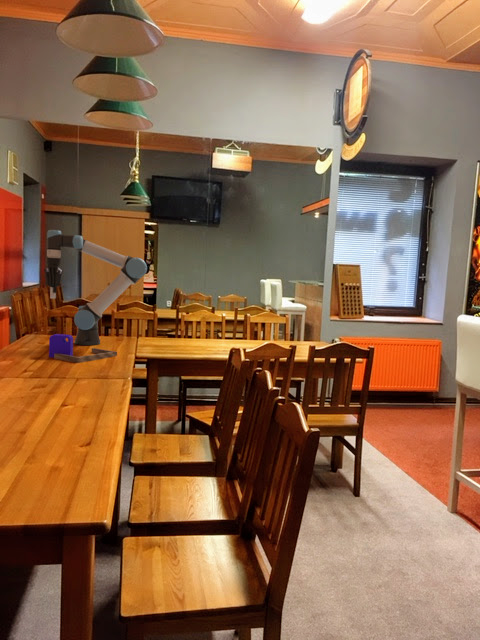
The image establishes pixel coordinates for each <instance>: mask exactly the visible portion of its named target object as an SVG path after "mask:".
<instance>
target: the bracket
mask: <svg viewBox="0 0 480 640" xmlns="http://www.w3.org/2000/svg"><path fill="white" fill-rule="evenodd" d="M48 343H49V344H48V345H49V347H48V348H49V350H48V357H49V358H54V354H56V353H59V354H65V355H70V356H74V338H73V335H72V334H66V333H64V334H62V333H56V334H53V335H50V337H49V342H48Z"/></svg>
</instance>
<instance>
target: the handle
mask: <svg viewBox="0 0 480 640" xmlns="http://www.w3.org/2000/svg"><path fill="white" fill-rule="evenodd" d="M91 353H93V354H89V355H83V356H82V355H81V356H75V355H73V356H70V355H65V354H59V353H56V354H54V357H53V358H54V359H55V360H61V361H66V362H71V363H76V364H79V363H85V362H86V363H87V362H92V361H96V360H104V359H108V358H112V357H118V351H115V350H108V349H102V348H96V347H93V348H91Z"/></svg>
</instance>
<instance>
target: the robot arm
mask: <svg viewBox="0 0 480 640" xmlns="http://www.w3.org/2000/svg"><path fill="white" fill-rule="evenodd" d="M61 248H63V249H73V250H76V251H79V252H81V253H84V254H86V255H88V256H91V257H93V258H96V259H98V260H101V261H102V262H106V263H107V264H108V263H109V264H111V265H113V266H115V267H118V268H121V269H120V273H119V274H118V275H117V276H116V278H115V279H113V281H112V282H111V283H110V284H108V286H107V287H106V288H105V289H103V291H102V292H100V293H99V295H97V296H96V298H94V299H93V301H91V302H87V303H86V304H85V305H79V306H78V309H77V310H78V311H77V312H76V313H75V314H74V318H73V321H74V324H75V326H76V327H77V333H76V335H75V338H74V344H75V345H80V346H96V345H100V344H101V339H100V336H99V331H98V330H99V327H98V325H99V320H100V319H101V318H102V317H103V313H104V312H105V311H106V309H108V308H109V306H111V305H112V304H113V303H114V302H115V301H116V300H117V299H118V298H119V297H120V296H121V295H122V294H123V293H124V292H125V291H126V290H128V288H129V287H130V286H131V285H135V284H137V282H139V281H140V279H142V277H145V275H146V274H147V271H148V266H147V265H148V264H147V263H146V262H145V260H144V259H142V258H140V257H134V256H133V257H132V256H130V255H123V254H120V253H118V252H116V251H114V250H112V249H111V250H110V248H106V247H104V246H101V245H99V244H96V243H93V242H91V241H88V240H86V239H84V238H83V236H82V235H79V234H78V235H77V234H63V233H62V231H61V230H57V229H49V230H48V231H47V236H46V265H47V267H46V268H44V273H45V280H46V286H48V287H49V293H50V297H49V299H51V300H52V299H57V295H56V294H57V288H58V287H60V285H61V279H62V274H63V272H64V270H63V269H61V267H60V265H61V261H62V259H61V258H62V257H61V256H62V254H61V253H62V251H61V250H62V249H61Z"/></svg>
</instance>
